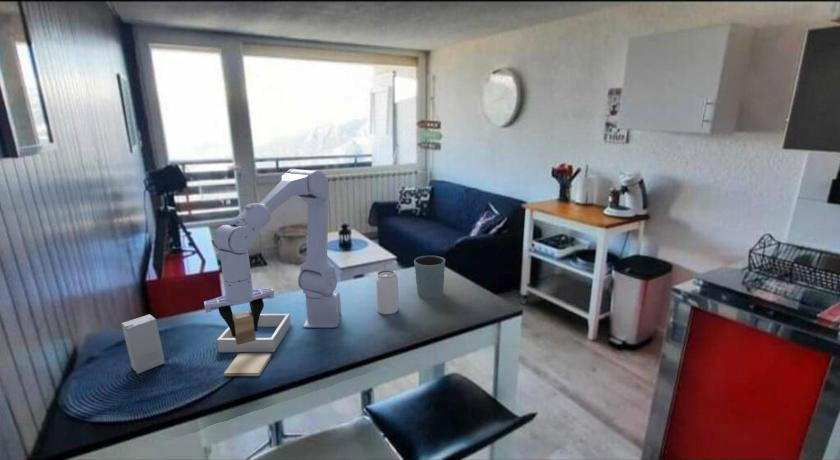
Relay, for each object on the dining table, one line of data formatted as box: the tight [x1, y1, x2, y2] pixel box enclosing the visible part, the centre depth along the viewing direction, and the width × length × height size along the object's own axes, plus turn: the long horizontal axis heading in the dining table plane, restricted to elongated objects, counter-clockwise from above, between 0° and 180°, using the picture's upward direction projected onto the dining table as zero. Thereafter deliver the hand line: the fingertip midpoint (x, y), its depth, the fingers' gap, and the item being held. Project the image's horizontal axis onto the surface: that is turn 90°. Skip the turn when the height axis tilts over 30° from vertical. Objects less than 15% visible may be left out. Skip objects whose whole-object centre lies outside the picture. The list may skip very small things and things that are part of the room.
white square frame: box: [216, 313, 292, 353], centre depth 111 cm, size 14×14×4 cm
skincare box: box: [121, 314, 166, 375], centre depth 97 cm, size 6×4×12 cm
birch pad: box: [223, 353, 272, 377], centre depth 99 cm, size 8×8×1 cm
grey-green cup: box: [413, 255, 446, 300], centre depth 137 cm, size 10×10×12 cm
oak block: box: [233, 309, 257, 345], centre depth 96 cm, size 4×4×6 cm
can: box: [375, 269, 399, 316], centre depth 125 cm, size 6×6×12 cm
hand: (244, 332), depth 97 cm, fingers closed on oak block, 4 cm apart
